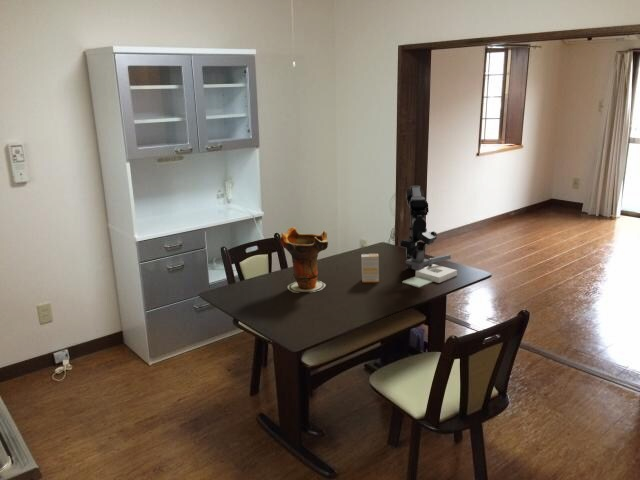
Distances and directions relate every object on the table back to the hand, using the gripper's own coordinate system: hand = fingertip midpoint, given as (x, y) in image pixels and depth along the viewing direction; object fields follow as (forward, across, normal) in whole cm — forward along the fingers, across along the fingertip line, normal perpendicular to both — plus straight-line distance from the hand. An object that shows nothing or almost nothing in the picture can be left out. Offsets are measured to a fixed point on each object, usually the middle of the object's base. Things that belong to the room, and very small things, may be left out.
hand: (417, 257), depth 252 cm
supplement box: (+13, -13, +18) cm, 26 cm away
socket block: (+12, +13, -1) cm, 18 cm away
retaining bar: (+9, +21, +3) cm, 23 cm away
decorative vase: (+12, -39, +35) cm, 54 cm away
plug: (+5, 0, 0) cm, 5 cm away
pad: (+12, 0, 0) cm, 12 cm away
